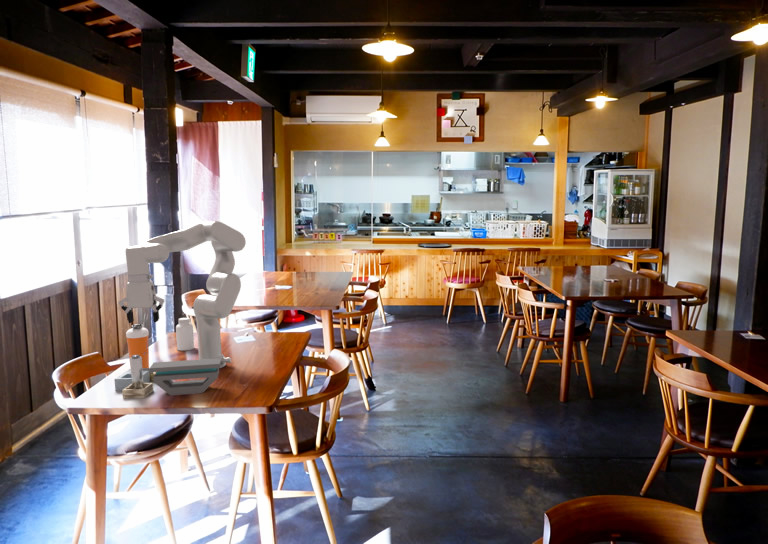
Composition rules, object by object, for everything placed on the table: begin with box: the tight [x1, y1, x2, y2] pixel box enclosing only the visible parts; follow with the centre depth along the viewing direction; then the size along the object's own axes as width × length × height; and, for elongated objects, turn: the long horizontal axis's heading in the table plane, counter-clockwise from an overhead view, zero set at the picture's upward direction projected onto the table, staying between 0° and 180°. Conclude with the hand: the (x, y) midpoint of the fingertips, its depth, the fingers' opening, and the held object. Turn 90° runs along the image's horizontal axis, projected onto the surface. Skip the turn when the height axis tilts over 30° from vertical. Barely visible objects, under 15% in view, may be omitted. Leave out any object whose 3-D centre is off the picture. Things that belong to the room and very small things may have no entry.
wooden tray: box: [121, 382, 154, 399], centre depth 221 cm, size 8×8×3 cm
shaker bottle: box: [125, 323, 150, 368], centre depth 248 cm, size 9×9×20 cm
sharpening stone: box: [149, 358, 222, 396], centre depth 223 cm, size 25×8×11 cm, turn 101°
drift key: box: [149, 372, 156, 382], centre depth 237 cm, size 8×4×3 cm, turn 88°
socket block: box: [114, 367, 154, 391], centre depth 232 cm, size 9×14×4 cm, turn 178°
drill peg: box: [129, 355, 144, 389], centre depth 220 cm, size 4×4×14 cm
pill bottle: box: [175, 317, 195, 352], centre depth 285 cm, size 8×8×15 cm
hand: (143, 321), depth 227 cm, fingers open, 9 cm apart
